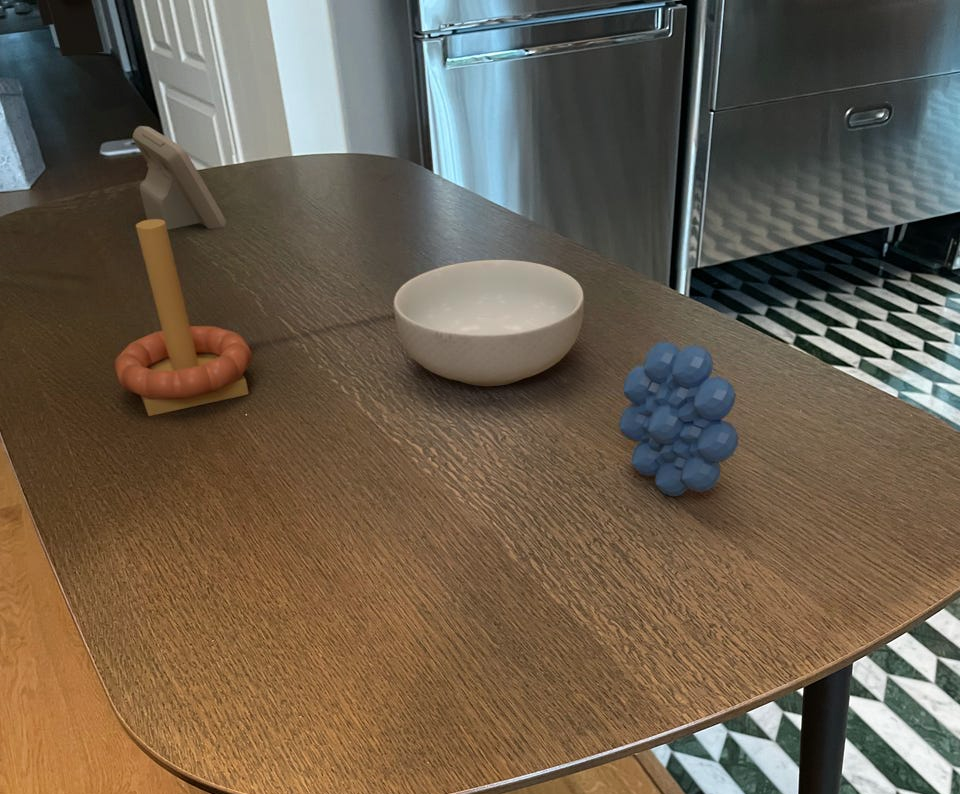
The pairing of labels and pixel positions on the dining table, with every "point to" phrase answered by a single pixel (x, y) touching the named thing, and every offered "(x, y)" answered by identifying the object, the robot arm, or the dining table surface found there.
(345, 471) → the dining table surface
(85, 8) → the robot arm
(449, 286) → the cereal bowl
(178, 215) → the digital clock
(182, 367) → the peg stand
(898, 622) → the dining table surface
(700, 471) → the grapes
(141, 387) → the ring
